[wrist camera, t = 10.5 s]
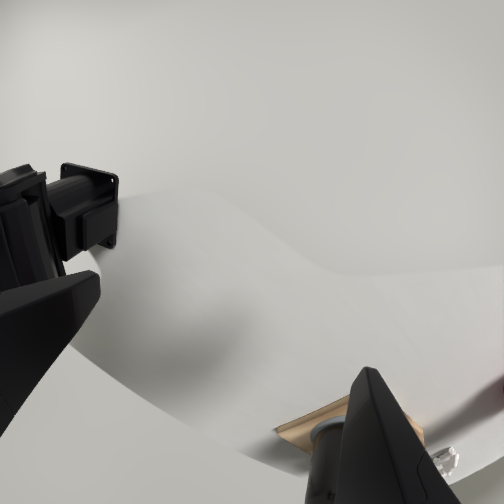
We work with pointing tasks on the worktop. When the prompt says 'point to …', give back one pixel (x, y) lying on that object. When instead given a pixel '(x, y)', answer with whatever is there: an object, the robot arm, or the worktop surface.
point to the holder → (323, 425)
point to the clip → (447, 462)
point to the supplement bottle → (325, 465)
